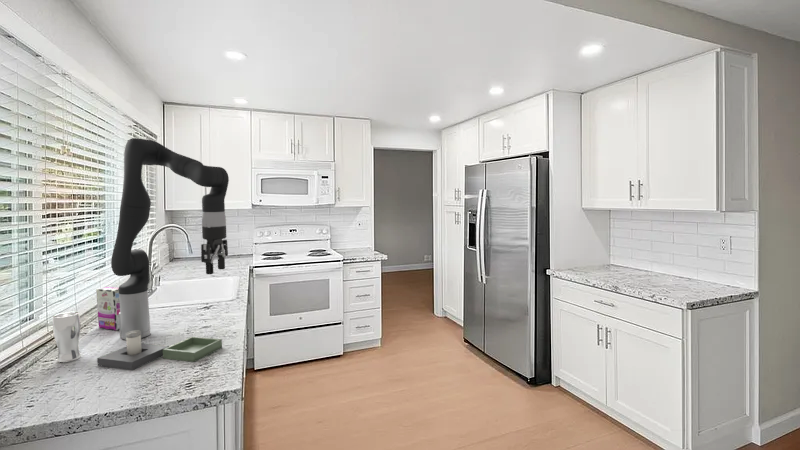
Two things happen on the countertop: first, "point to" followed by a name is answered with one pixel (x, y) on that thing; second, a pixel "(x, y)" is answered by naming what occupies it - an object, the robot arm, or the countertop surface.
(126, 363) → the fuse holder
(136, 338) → the fuse
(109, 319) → the candy bar box
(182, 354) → the tray
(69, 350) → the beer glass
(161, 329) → the countertop surface
